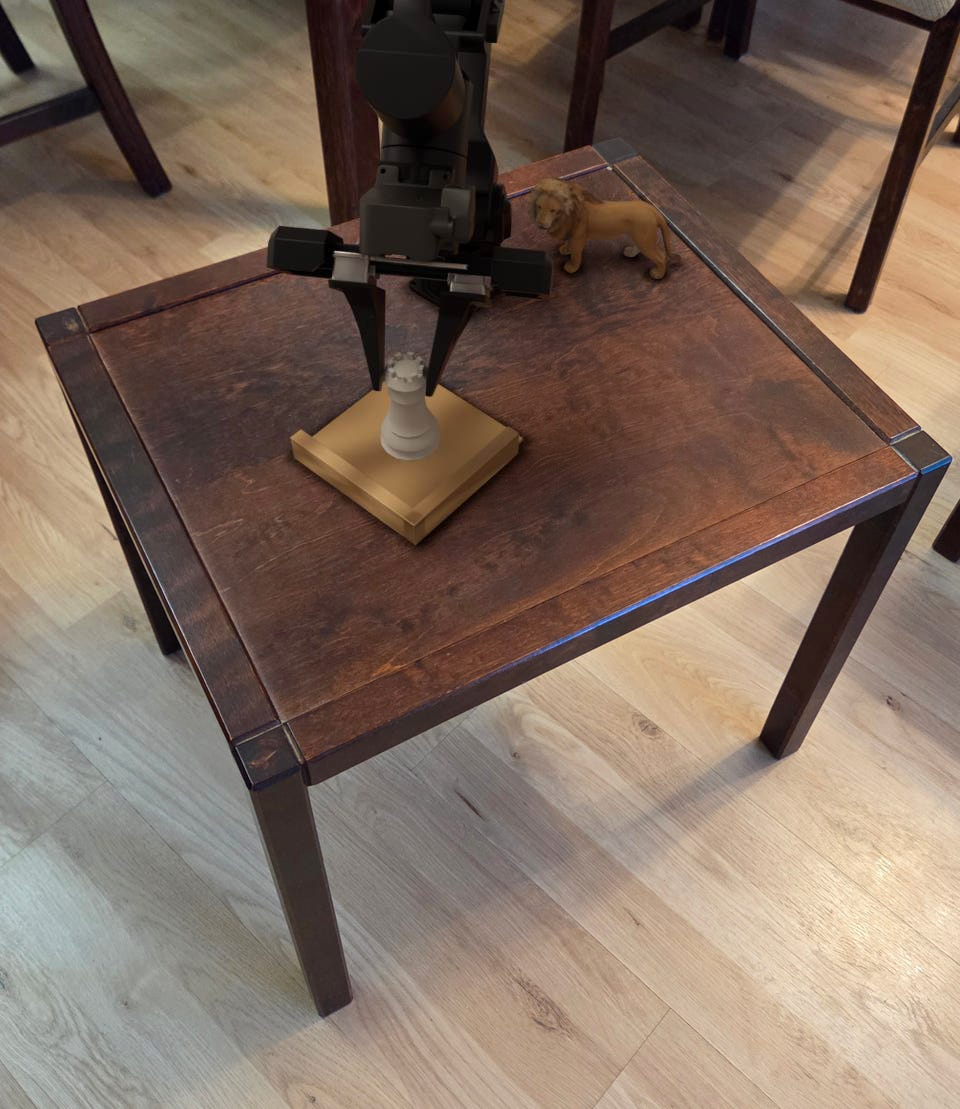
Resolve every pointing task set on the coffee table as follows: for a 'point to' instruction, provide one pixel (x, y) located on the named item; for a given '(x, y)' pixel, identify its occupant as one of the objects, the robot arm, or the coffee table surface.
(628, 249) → the lion figurine
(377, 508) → the corner guide
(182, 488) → the coffee table surface
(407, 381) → the rook chess piece
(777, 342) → the coffee table surface
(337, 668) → the coffee table surface
